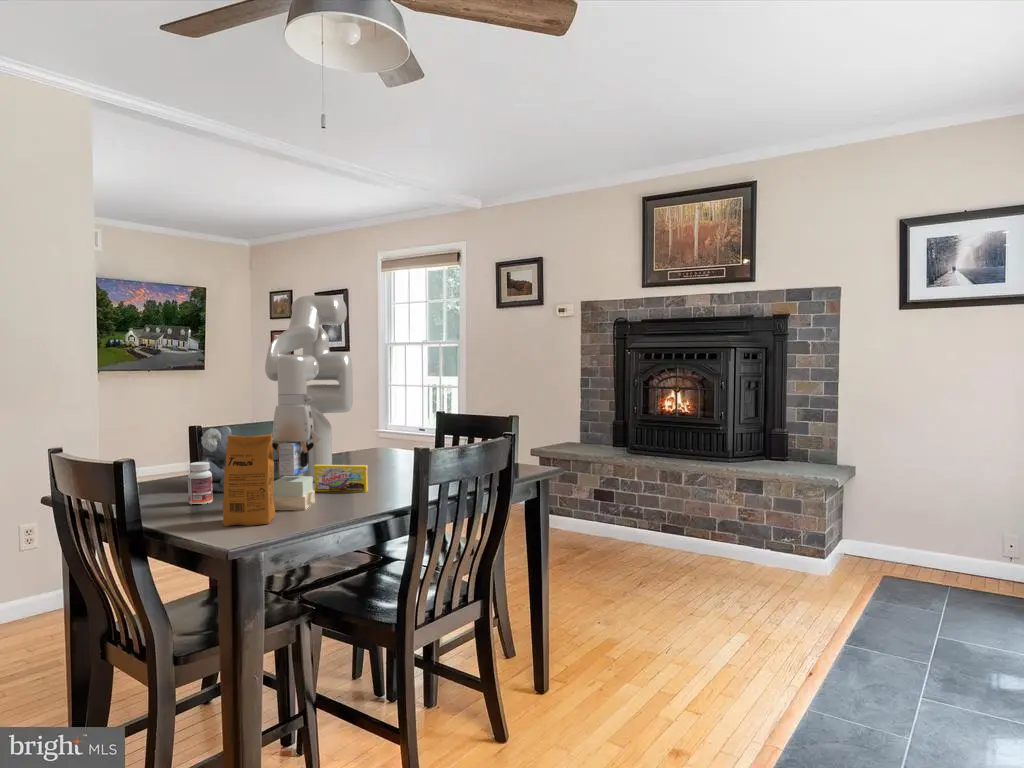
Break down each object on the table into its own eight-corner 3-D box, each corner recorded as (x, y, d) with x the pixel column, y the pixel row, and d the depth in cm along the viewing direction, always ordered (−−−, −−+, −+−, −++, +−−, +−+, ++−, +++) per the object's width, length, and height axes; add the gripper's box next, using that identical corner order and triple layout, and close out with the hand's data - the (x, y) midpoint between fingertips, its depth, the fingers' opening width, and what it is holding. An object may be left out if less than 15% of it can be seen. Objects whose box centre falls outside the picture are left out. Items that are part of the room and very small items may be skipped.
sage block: (284, 490, 193) (284, 476, 193) (312, 490, 193) (312, 476, 193) (273, 496, 185) (273, 481, 185) (302, 496, 185) (302, 481, 185)
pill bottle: (217, 502, 195) (216, 462, 194) (197, 506, 190) (196, 465, 189) (204, 499, 198) (203, 460, 198) (184, 503, 193) (183, 463, 193)
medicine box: (294, 476, 185) (293, 444, 184) (278, 475, 185) (278, 443, 185) (308, 471, 192) (307, 440, 192) (293, 470, 193) (293, 439, 193)
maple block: (283, 504, 194) (282, 490, 193) (315, 504, 193) (314, 490, 193) (271, 511, 185) (271, 497, 184) (305, 511, 184) (304, 497, 184)
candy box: (313, 492, 209) (313, 465, 208) (316, 491, 211) (315, 464, 210) (366, 492, 208) (366, 465, 207) (368, 491, 210) (368, 464, 209)
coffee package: (230, 517, 177) (228, 432, 176) (280, 516, 178) (278, 431, 177) (216, 527, 167) (214, 437, 166) (269, 526, 168) (267, 436, 167)
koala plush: (236, 493, 207) (235, 429, 206) (177, 493, 207) (175, 429, 206) (258, 482, 225) (256, 423, 224) (203, 482, 225) (201, 423, 224)
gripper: (327, 399, 192) (328, 464, 193) (266, 399, 192) (267, 464, 192) (320, 401, 184) (321, 468, 185) (256, 401, 184) (257, 469, 185)
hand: (293, 465), depth 189 cm, fingers closed on medicine box, 5 cm apart
